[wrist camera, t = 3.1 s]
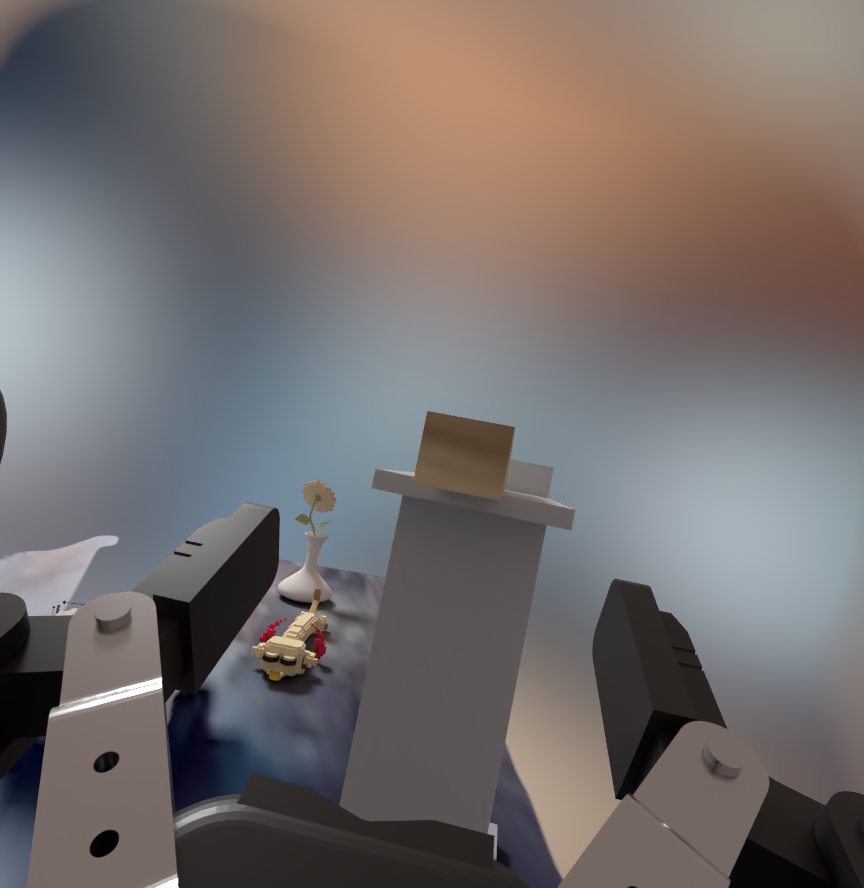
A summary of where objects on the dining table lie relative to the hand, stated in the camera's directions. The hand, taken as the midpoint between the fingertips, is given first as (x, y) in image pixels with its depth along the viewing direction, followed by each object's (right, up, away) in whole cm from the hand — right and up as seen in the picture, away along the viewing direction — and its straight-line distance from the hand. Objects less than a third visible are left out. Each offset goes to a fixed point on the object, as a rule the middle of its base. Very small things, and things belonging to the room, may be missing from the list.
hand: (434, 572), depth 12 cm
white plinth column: (-2, -32, +28) cm, 42 cm away
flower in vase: (-28, -30, +99) cm, 107 cm away
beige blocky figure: (-22, -30, +70) cm, 79 cm away
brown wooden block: (+3, 0, +21) cm, 22 cm away
